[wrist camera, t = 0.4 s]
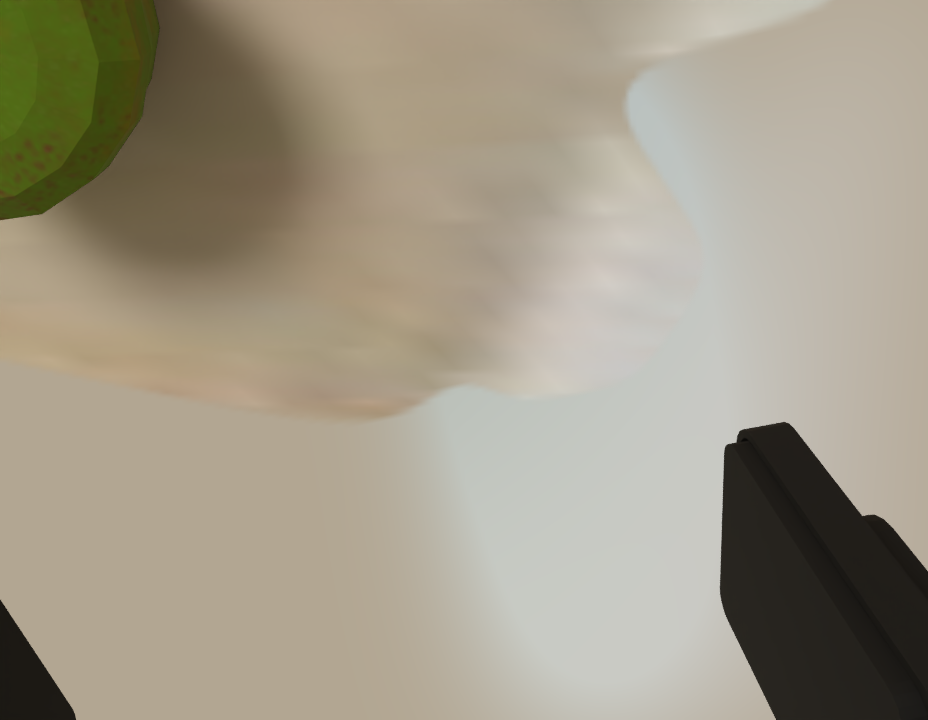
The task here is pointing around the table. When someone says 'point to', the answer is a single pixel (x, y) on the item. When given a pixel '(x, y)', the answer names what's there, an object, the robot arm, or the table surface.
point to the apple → (68, 93)
